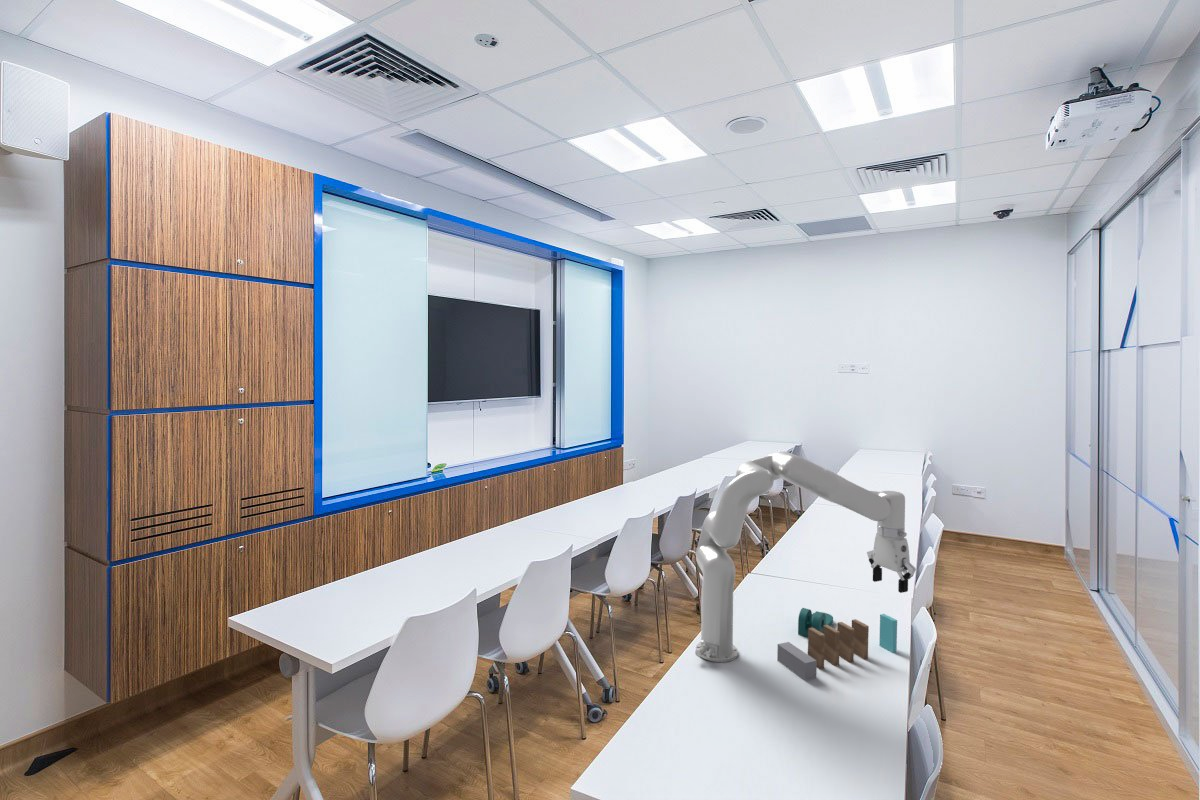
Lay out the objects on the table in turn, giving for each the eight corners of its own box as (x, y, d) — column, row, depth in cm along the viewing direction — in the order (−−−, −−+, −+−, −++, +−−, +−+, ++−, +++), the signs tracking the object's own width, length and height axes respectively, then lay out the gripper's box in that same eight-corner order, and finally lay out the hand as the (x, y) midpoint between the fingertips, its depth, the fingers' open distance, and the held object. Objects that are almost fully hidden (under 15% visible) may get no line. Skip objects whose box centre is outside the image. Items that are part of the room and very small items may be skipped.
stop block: (788, 658, 173) (788, 641, 173) (816, 677, 162) (816, 660, 162) (777, 660, 172) (777, 644, 172) (804, 680, 161) (805, 663, 160)
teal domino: (883, 644, 182) (884, 613, 181) (896, 652, 177) (897, 620, 176) (879, 645, 181) (880, 614, 181) (892, 652, 176) (893, 621, 176)
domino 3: (841, 653, 176) (841, 621, 175) (853, 661, 171) (854, 628, 171) (836, 654, 175) (837, 622, 175) (849, 662, 171) (850, 629, 170)
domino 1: (812, 660, 172) (812, 627, 171) (823, 668, 167) (824, 634, 167) (807, 661, 171) (808, 628, 171) (819, 669, 167) (820, 635, 166)
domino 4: (855, 650, 178) (855, 619, 177) (867, 658, 173) (868, 625, 172) (851, 651, 177) (851, 620, 177) (863, 659, 172) (864, 626, 172)
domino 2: (826, 657, 174) (827, 624, 173) (839, 665, 169) (839, 631, 169) (822, 658, 173) (823, 625, 173) (834, 666, 169) (835, 632, 168)
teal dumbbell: (819, 641, 185) (819, 617, 184) (798, 635, 189) (798, 611, 188) (835, 621, 199) (836, 599, 198) (815, 616, 203) (816, 594, 203)
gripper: (924, 537, 170) (923, 594, 171) (877, 523, 187) (876, 575, 187) (905, 540, 168) (904, 598, 169) (859, 526, 184) (858, 578, 185)
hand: (889, 586), depth 178 cm, fingers open, 9 cm apart
